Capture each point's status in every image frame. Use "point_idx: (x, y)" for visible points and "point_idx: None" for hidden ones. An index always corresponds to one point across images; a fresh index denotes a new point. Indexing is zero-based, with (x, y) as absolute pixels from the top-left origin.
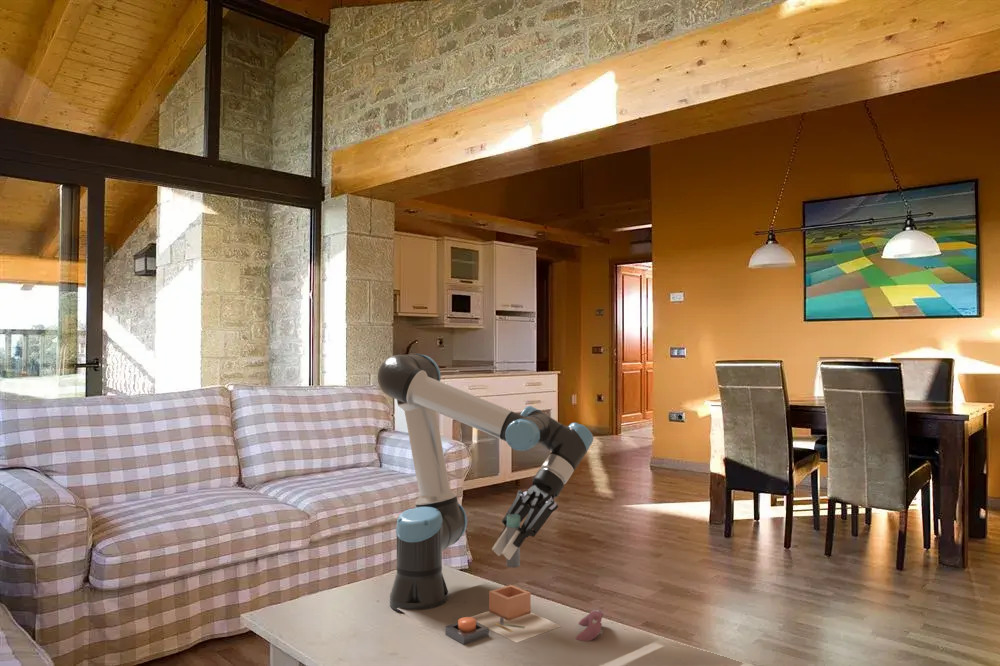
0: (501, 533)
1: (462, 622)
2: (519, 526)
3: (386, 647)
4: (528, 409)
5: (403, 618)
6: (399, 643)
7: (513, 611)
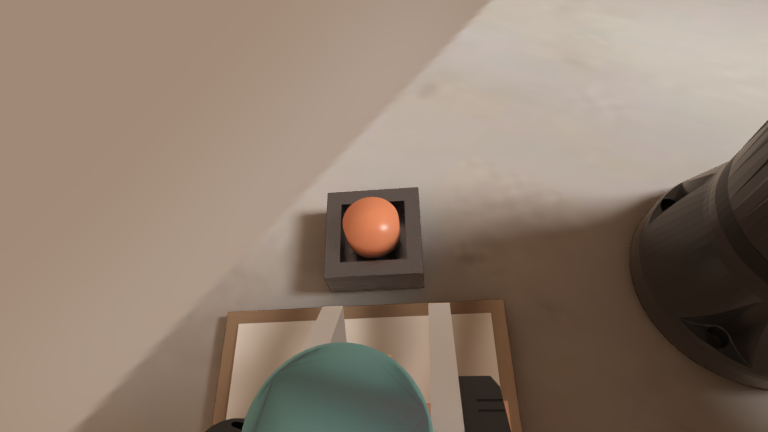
0: (497, 406)
1: (368, 203)
2: None
3: (466, 89)
4: None
5: (625, 184)
6: (469, 117)
7: None
